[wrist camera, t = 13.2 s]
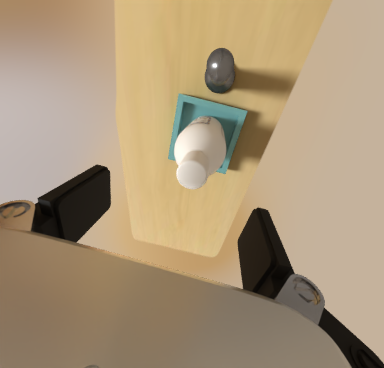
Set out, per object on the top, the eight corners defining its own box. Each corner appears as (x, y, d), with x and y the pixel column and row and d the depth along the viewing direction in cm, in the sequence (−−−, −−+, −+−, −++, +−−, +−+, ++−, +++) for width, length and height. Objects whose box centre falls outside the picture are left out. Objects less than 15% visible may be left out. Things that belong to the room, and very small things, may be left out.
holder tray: (182, 93, 31) (178, 93, 29) (245, 110, 31) (247, 111, 28) (171, 154, 37) (168, 158, 34) (224, 168, 37) (225, 174, 34)
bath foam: (181, 137, 34) (141, 180, 16) (202, 107, 31) (181, 119, 13) (208, 158, 35) (199, 219, 17) (231, 130, 32) (247, 170, 14)
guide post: (224, 51, 28) (228, 23, 17) (239, 80, 29) (251, 70, 19) (199, 73, 29) (189, 59, 19) (215, 99, 31) (213, 100, 20)
